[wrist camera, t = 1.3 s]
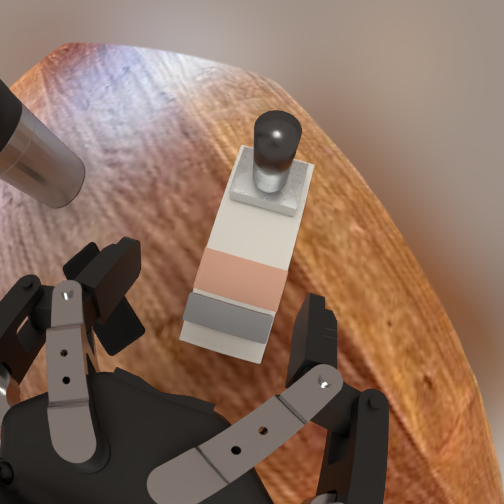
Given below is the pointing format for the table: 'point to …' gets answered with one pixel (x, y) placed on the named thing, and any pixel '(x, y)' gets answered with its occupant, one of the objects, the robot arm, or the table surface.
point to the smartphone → (122, 318)
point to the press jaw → (271, 166)
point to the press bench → (241, 277)
